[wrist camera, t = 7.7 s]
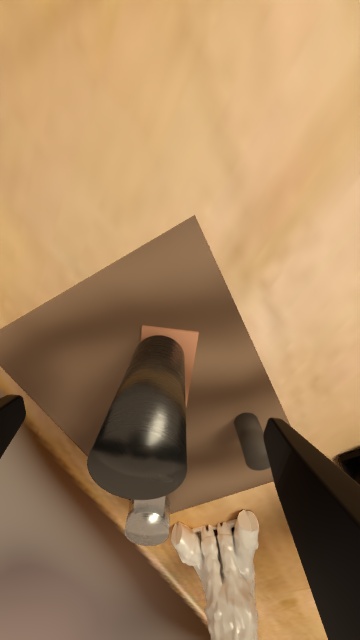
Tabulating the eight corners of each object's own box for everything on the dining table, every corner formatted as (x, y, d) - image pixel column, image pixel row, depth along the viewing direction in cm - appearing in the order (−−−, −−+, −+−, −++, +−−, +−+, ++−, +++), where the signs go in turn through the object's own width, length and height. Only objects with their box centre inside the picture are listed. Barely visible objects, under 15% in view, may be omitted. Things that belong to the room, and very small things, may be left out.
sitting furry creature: (253, 505, 21) (331, 791, 10) (268, 547, 24) (344, 810, 13) (169, 521, 23) (157, 795, 11) (193, 560, 25) (203, 811, 14)
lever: (168, 517, 19) (160, 678, 12) (130, 514, 19) (99, 675, 12) (193, 327, 12) (208, 436, 5) (133, 322, 12) (68, 426, 5)
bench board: (300, 452, 19) (335, 513, 14) (151, 502, 21) (143, 565, 17) (193, 218, 12) (199, 203, 8) (-3, 333, 15) (-77, 368, 11)
